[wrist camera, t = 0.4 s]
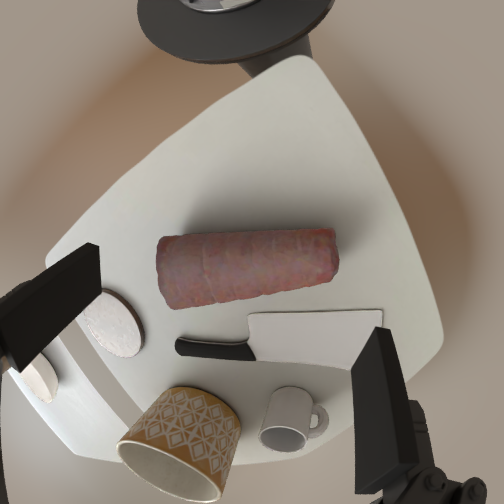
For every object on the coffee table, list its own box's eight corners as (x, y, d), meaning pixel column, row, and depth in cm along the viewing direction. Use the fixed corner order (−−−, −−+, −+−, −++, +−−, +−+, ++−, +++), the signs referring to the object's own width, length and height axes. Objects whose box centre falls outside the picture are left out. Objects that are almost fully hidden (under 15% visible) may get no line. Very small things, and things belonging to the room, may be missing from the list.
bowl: (23, 326, 62) (6, 337, 56) (63, 362, 60) (46, 377, 54) (31, 366, 69) (18, 377, 62) (69, 400, 67) (55, 413, 60)
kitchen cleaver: (383, 312, 35) (376, 375, 37) (381, 307, 37) (375, 369, 38) (167, 307, 43) (177, 363, 45) (172, 303, 45) (181, 358, 47)
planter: (193, 444, 56) (163, 497, 40) (141, 385, 53) (97, 438, 38) (265, 438, 49) (243, 506, 34) (212, 370, 46) (169, 441, 31)
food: (193, 292, 42) (163, 321, 34) (174, 230, 40) (137, 248, 32) (342, 271, 36) (344, 303, 28) (328, 197, 34) (328, 208, 25)
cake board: (78, 290, 49) (74, 292, 48) (128, 286, 45) (124, 289, 44) (103, 351, 53) (100, 354, 52) (155, 357, 49) (151, 360, 48)
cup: (268, 384, 44) (255, 423, 36) (331, 385, 41) (328, 427, 33) (272, 412, 46) (260, 450, 38) (329, 414, 43) (325, 454, 35)
